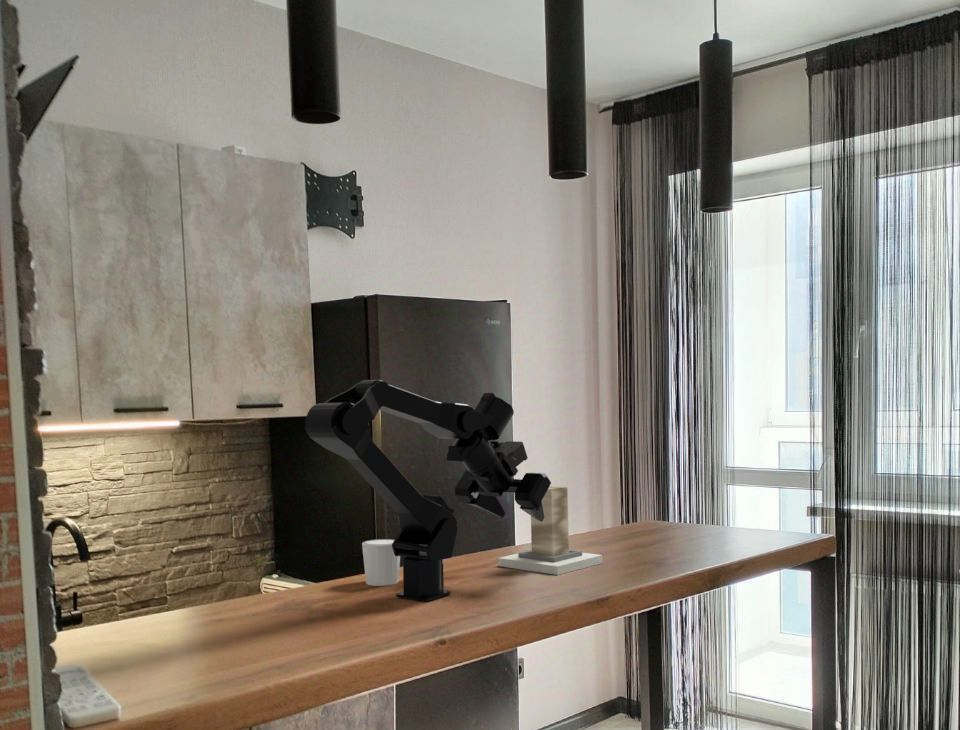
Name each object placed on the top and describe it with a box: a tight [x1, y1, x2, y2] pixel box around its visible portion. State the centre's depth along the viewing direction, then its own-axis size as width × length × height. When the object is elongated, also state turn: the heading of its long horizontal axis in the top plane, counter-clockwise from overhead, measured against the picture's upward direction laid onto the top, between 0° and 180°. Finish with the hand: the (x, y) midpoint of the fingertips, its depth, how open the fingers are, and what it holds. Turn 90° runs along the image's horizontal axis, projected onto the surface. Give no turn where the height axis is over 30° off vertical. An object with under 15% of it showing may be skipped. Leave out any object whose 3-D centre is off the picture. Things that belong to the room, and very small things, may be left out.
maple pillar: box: [530, 485, 570, 557], centre depth 160 cm, size 5×5×13 cm
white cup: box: [361, 538, 401, 587], centre depth 147 cm, size 7×7×7 cm
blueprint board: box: [497, 549, 603, 576], centre depth 160 cm, size 14×14×2 cm
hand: (522, 517), depth 154 cm, fingers open, 9 cm apart
